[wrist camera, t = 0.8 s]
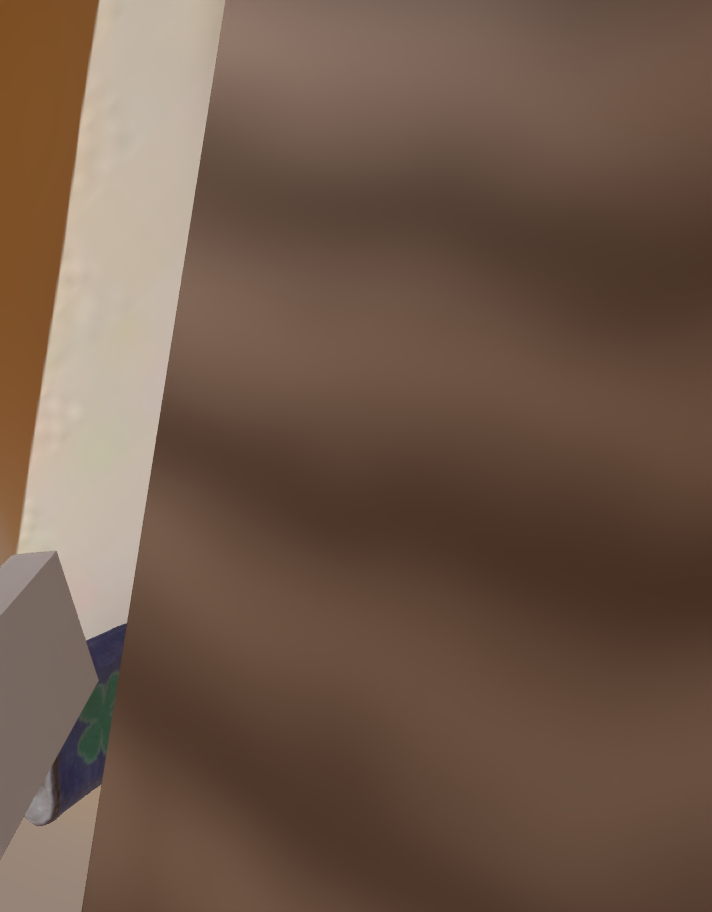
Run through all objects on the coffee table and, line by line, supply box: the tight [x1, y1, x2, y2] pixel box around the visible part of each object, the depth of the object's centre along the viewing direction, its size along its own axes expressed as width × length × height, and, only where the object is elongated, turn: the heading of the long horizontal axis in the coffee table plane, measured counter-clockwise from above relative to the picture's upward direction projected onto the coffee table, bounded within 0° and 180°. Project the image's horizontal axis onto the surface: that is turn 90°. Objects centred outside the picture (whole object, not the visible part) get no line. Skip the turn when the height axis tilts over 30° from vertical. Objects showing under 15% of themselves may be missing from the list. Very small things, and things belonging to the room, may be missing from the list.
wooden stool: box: [82, 0, 712, 912], centre depth 26 cm, size 29×14×24 cm, turn 170°
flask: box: [24, 624, 127, 826], centre depth 38 cm, size 9×3×11 cm, turn 176°
